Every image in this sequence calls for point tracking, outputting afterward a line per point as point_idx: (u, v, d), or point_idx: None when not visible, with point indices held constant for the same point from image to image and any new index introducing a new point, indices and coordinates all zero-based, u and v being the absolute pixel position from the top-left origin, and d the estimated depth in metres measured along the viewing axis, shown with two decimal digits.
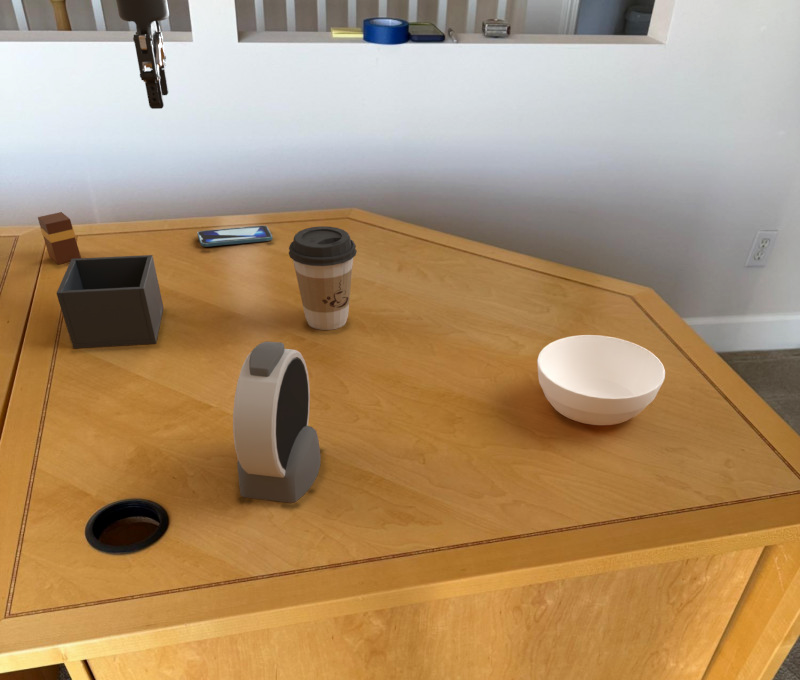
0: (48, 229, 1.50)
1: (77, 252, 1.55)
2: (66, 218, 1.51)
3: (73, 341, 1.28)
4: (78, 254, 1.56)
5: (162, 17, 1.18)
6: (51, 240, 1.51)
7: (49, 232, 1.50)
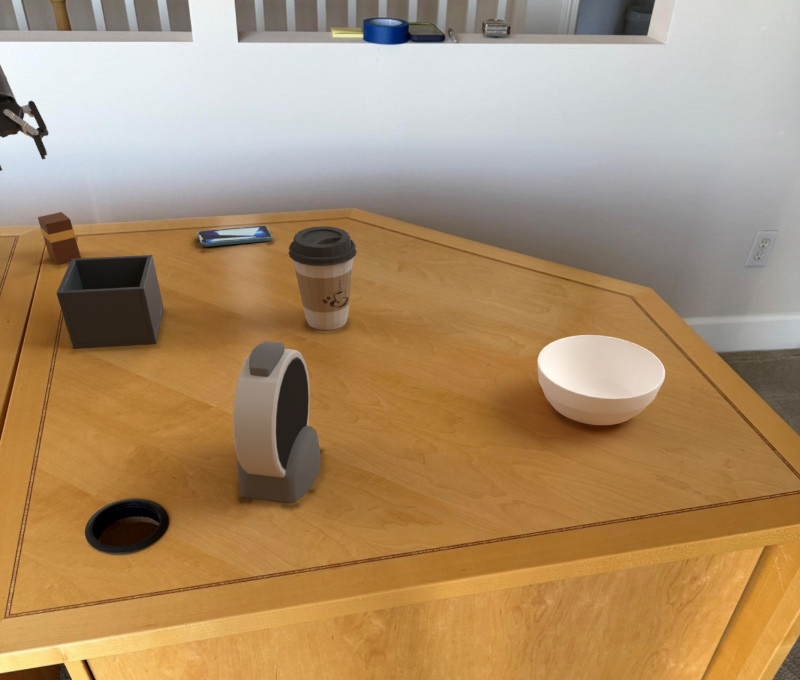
0: (48, 229, 1.50)
1: (77, 252, 1.55)
2: (66, 218, 1.51)
3: (73, 341, 1.28)
4: (78, 254, 1.56)
5: None
6: (51, 240, 1.51)
7: (49, 232, 1.50)
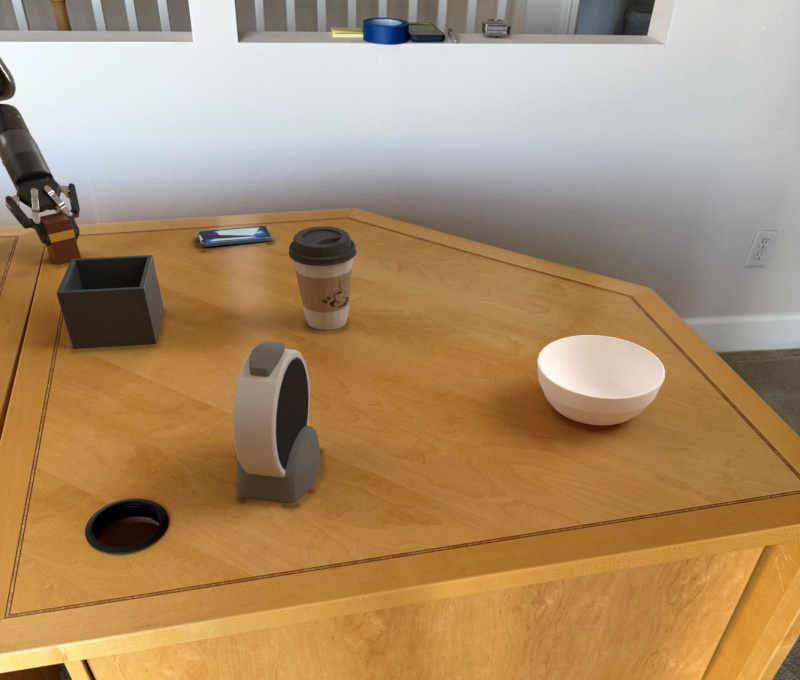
0: (48, 229, 1.50)
1: (77, 252, 1.55)
2: (66, 218, 1.51)
3: (73, 341, 1.28)
4: (78, 254, 1.56)
5: None
6: (51, 240, 1.51)
7: (49, 232, 1.50)
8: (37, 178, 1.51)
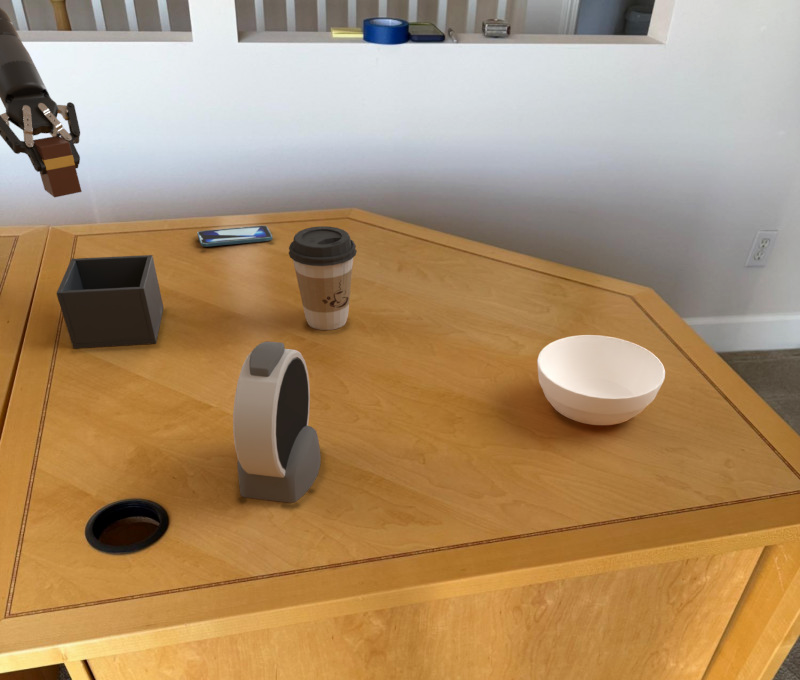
0: (43, 153, 1.27)
1: (77, 183, 1.33)
2: (64, 141, 1.29)
3: (73, 341, 1.28)
4: (78, 186, 1.33)
5: None
6: (47, 167, 1.29)
7: (44, 157, 1.28)
8: (30, 94, 1.28)
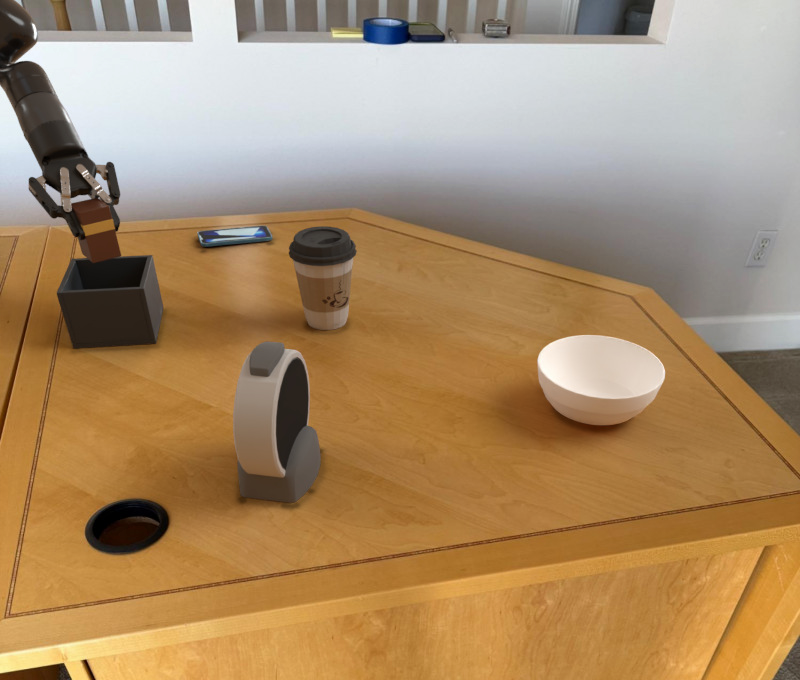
0: (82, 219, 1.19)
1: (117, 248, 1.25)
2: (104, 205, 1.21)
3: (73, 341, 1.28)
4: (118, 250, 1.25)
5: None
6: (85, 233, 1.20)
7: (83, 222, 1.19)
8: (68, 155, 1.20)
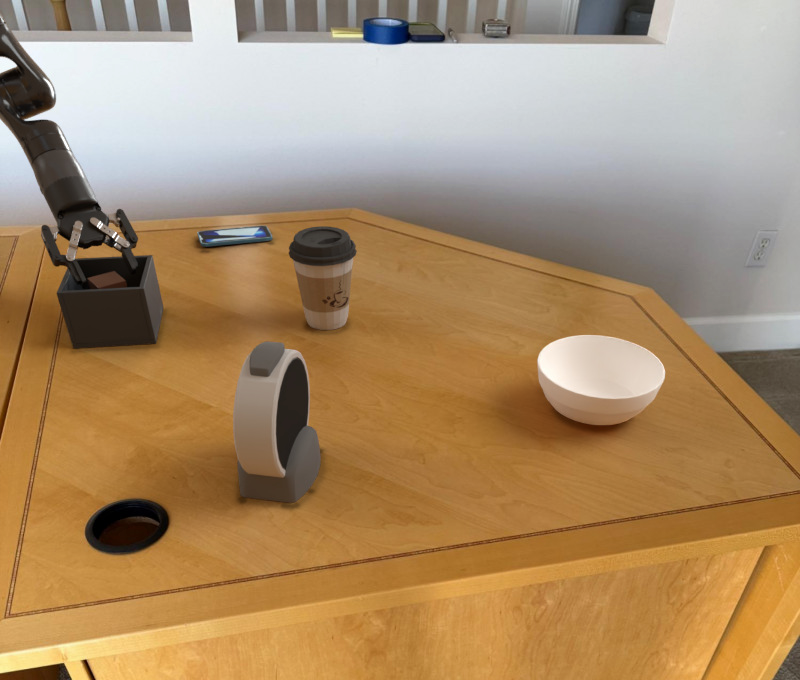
0: None
1: None
2: (120, 279, 1.29)
3: (73, 341, 1.28)
4: None
5: None
6: None
7: None
8: (82, 208, 1.26)
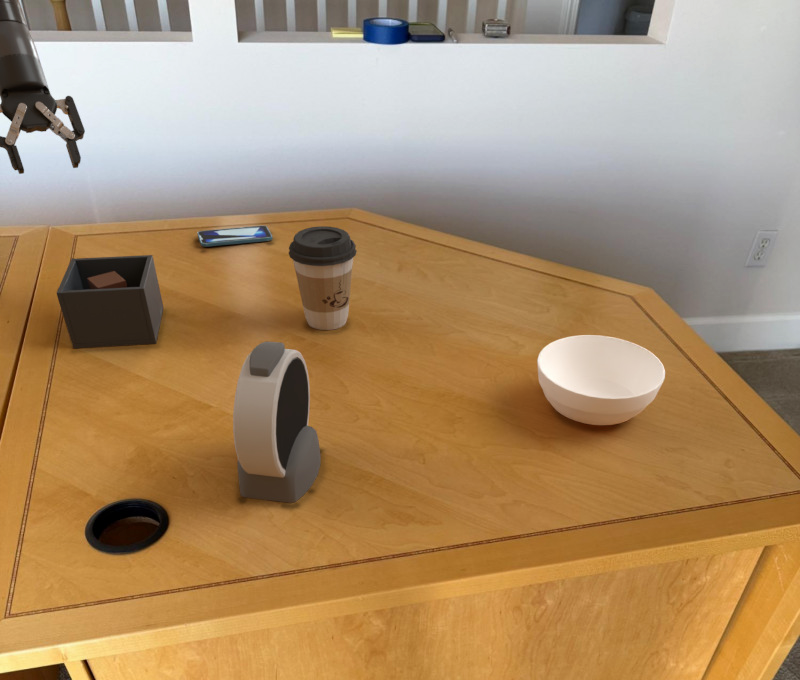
0: None
1: None
2: (120, 279, 1.29)
3: (73, 341, 1.28)
4: None
5: None
6: None
7: None
8: (28, 90, 1.23)
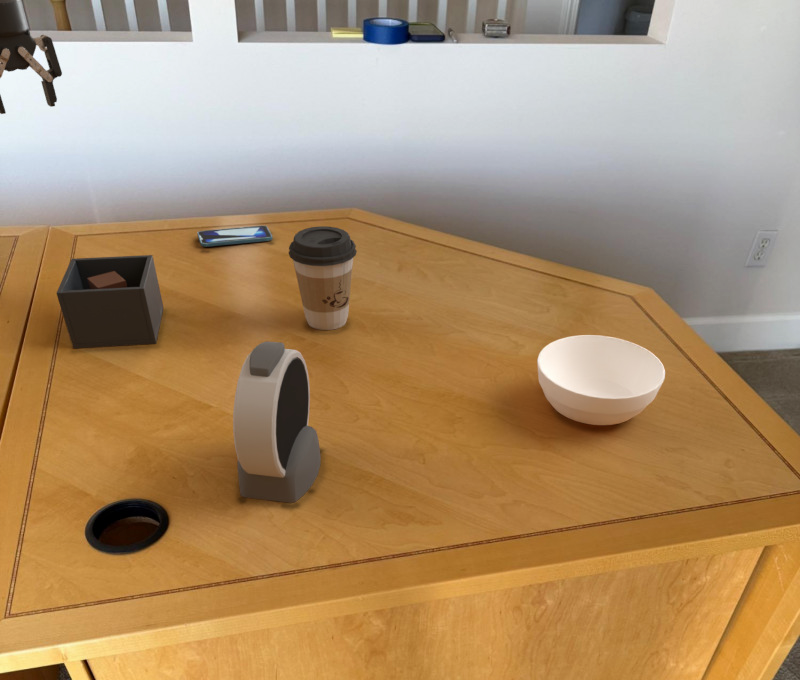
0: None
1: None
2: (120, 279, 1.29)
3: (73, 341, 1.28)
4: None
5: None
6: None
7: None
8: None
